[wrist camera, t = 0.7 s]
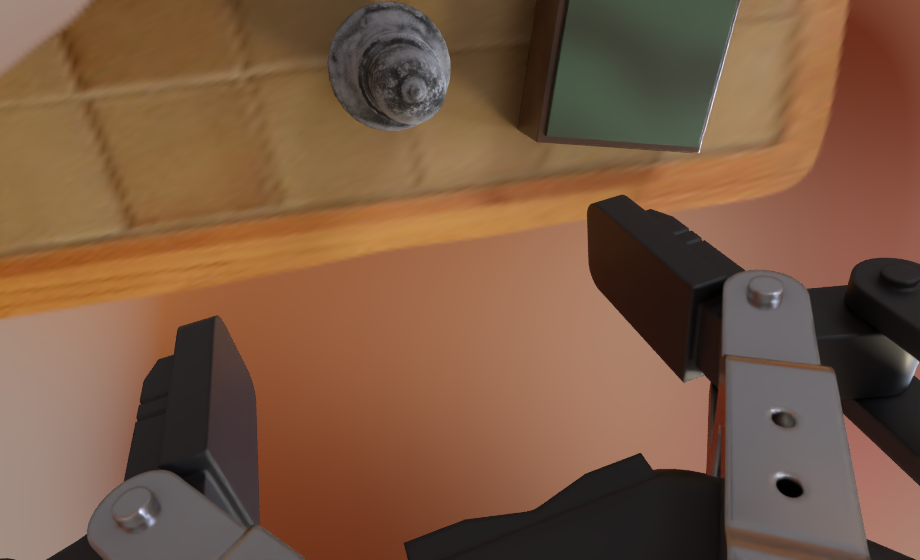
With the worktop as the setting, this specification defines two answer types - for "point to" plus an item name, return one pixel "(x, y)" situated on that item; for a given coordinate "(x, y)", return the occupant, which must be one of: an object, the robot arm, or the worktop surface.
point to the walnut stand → (625, 72)
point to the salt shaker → (389, 66)
